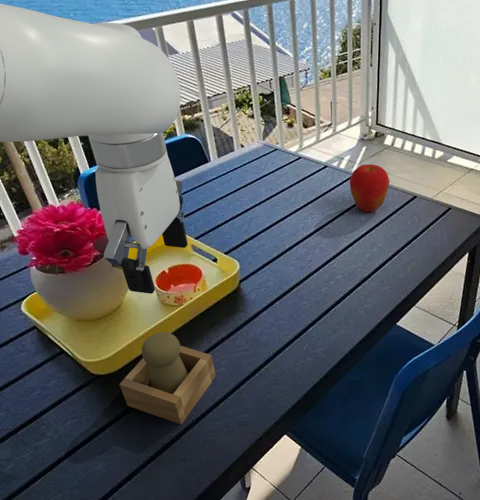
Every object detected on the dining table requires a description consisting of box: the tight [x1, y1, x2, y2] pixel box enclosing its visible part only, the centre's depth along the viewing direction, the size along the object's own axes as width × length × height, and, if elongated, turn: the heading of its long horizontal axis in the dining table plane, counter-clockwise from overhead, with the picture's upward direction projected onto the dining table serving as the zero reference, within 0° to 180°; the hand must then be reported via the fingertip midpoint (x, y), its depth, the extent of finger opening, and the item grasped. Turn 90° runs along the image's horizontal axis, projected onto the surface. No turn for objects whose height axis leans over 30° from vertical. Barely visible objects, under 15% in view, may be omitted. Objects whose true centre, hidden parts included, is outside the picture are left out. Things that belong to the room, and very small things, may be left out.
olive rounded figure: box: [141, 331, 188, 394], centre depth 74 cm, size 6×6×11 cm
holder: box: [119, 345, 217, 425], centre depth 75 cm, size 9×9×5 cm
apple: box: [349, 164, 391, 213], centre depth 118 cm, size 9×9×12 cm
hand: (160, 267), depth 65 cm, fingers open, 9 cm apart
